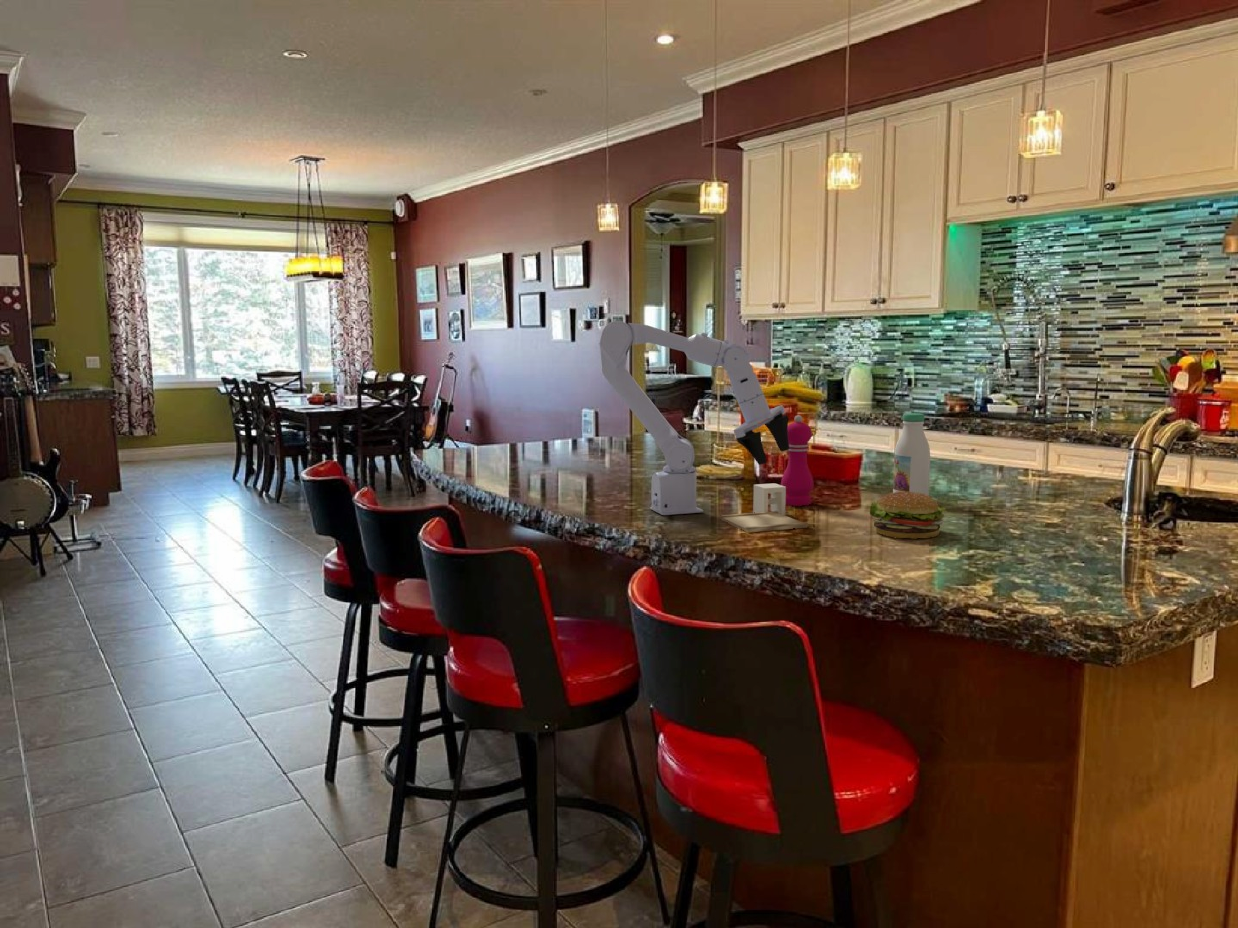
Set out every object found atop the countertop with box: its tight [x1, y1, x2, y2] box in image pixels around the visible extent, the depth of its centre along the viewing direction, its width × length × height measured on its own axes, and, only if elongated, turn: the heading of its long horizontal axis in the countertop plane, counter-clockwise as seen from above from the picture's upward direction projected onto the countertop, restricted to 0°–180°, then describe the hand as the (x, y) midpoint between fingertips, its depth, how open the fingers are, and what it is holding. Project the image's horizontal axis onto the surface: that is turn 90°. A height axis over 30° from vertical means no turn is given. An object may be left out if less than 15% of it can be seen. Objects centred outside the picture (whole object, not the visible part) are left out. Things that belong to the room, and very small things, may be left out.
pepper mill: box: [780, 415, 814, 507], centre depth 199 cm, size 7×7×20 cm
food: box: [869, 491, 947, 540], centre depth 169 cm, size 14×14×8 cm
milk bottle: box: [892, 412, 931, 496], centre depth 200 cm, size 8×8×20 cm
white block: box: [752, 483, 786, 516], centre depth 189 cm, size 5×5×6 cm
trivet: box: [719, 510, 808, 533], centre depth 179 cm, size 13×13×1 cm
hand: (774, 456), depth 190 cm, fingers open, 7 cm apart
